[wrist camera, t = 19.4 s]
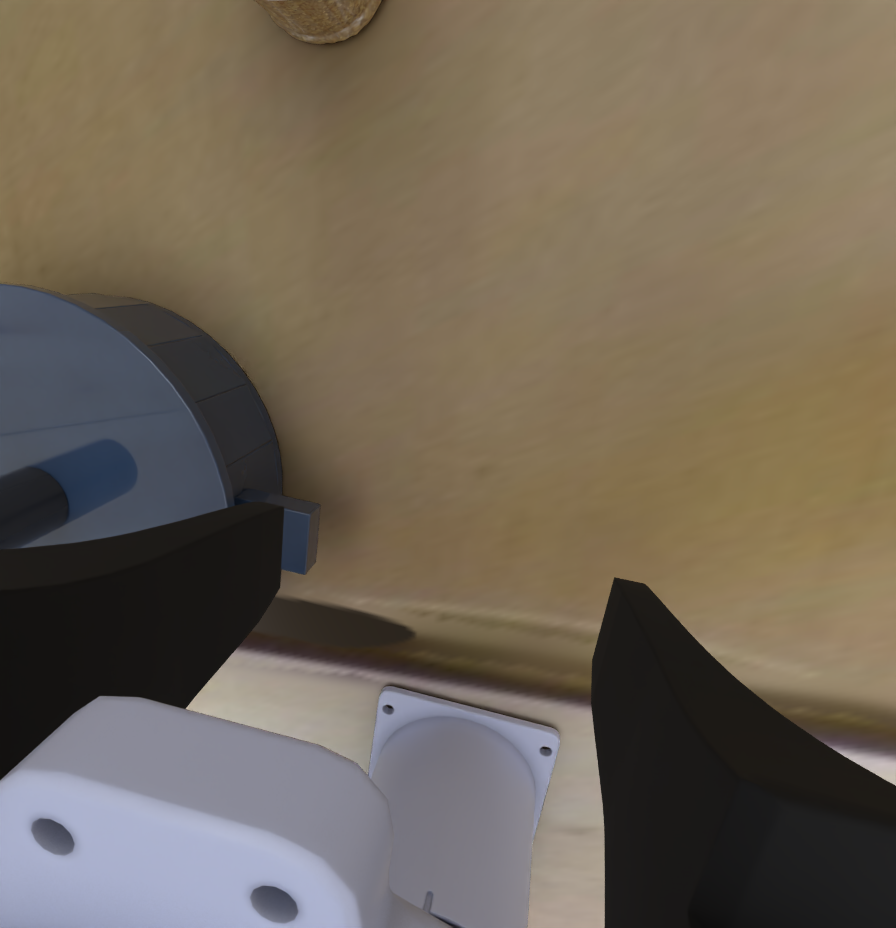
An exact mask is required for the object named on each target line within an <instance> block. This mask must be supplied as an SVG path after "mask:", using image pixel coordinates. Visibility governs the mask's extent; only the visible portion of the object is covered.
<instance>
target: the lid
mask: <svg viewBox="0 0 896 928" xmlns="http://www.w3.org/2000/svg"><path fill="white" fill-rule="evenodd" d="M232 506H235V503H234V496H233V490H232V485H231V482H230V478H229V475H228V471H227V468H226V464H225V461H224V458H223V456H222V453H221V451H220V449H219V446H218V444H217V441H216V439H215V437H214V434H213V432H212V430H211V428H210V427H209V425H208V423H207V421H206V419H205V418H204V416H203V414H202V412H201V410H200V409H199V407H198V405H197V404H196V402H195V401H194V400H193V398H192V397H191V395H190V394H189V393H188V391H187V390H186V388H185V387H184V385H183V384H182V383H181V381H180V380H179V379H178V378H177V377H176V375H175V374H174V373H173V372H172V371H171V370H170V369H169V368H168V366H167V365H166V364H165V363H164V362H163V361H162V360H161V358H160V357H159V356H157V355H156V354H155V353H154V352H153V351H152V350H151V349H150V348H149V347H148V346H147V345H145V344H144V343H143V342H142V341H141V340H140V339H139V338H138V337H137V336H135V335H134V334H133V333H131V332H130V331H128V330H127V329H126V328H124V327H123V326H122V325H120V324H119V323H117V322H116V321H115V320H113V319H112V318H110V317H108V316H107V315H105V314H103V313H101V312H99V311H98V310H96V309H94V308H92V307H91V306H89V305H87V304H85V303H83V302H80V301H78V300H75V299H73V298H71V297H68V296H66V295H63V294H61V293H58V292H55V291H51V290H47V289H43V288H39V287H36V286H32V285H23V284H14V283H0V549H17V548H27V547H37V546H47V545H57V544H67V543H75V542H82V541H89V540H95V539H101V538H107V537H112V536H118V535H123V534H127V533H132V532H136V531H141V530H145V529H149V528H153V527H157V526H161V525H165V524H169V523H173V522H177V521H181V520H185V519H188V518H192V517H195V516H199V515H203V514H206V513H210V512H213V511H217V510H221V509H224V508H228V507H232Z"/></svg>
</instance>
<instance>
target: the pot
mask: <svg viewBox="0 0 896 928" xmlns="http://www.w3.org/2000/svg"><path fill="white" fill-rule="evenodd" d="M66 296H68V297H71V298H73V299H75V300H78V301H80V302H83V303H85V304H87V305H89V306H91V307H92V308H94V309H96V310H98V311H99V312H101V313H103V314H105V315H107V316H108V317H110V318H112V319H113V320H115V321H116V322H117V323H119V324H120V325H122V326H123V327H124V328H126V329H127V330H128V331H130V332H131V333H133V334H134V335H135V336H137V337H138V338H139V339H140V340H141V341H142V342H143V343H144V344H145V345H147V346H148V347H149V348H150V349H151V350H152V351H153V352H154V353H155V354H156V355H157V356H159V357H160V358H161V360H162V361H163V362H164V363H165V364H166V365H167V366H168V368H169V369H170V370H171V371H172V372H173V373H174V374H175V375H176V377H177V378H178V379H179V380H180V381H181V383H182V384H183V385H184V387H185V388H186V390H187V391H188V393H189V394H190V395H191V397H192V398H193V400H194V401H195V402H196V404H197V405H198V407H199V409H200V410H201V412H202V414H203V416H204V418H205V419H206V421H207V423H208V425H209V427H210V428H211V430H212V432H213V434H214V437H215V439H216V441H217V444H218V446H219V449H220V451H221V453H222V456H223V458H224V461H225V464H226V468H227V471H228V475H229V478H230V482H231V485H232V490H233V496H234V503H235V506H236V505H240V504H244V503H249V502H256V501H260V502H265V503H269V504H274V505H279V506H283V507H284V523H283V542H282V561H281V569H282V570H286V571H290V572H294V573H299V574H303V575H305V574H306V573H307V572H308V571H309V570H310V569H311V567H312V566H313V565H314V564H315V563H316V554H317V542H318V531H319V519H320V508H321V504H318V503H313V502H309V501H304V500H300V499H295V498H291V497H286V496H282V466H281V458H280V451H279V447H278V443H277V439H276V435H275V431H274V428H273V426H272V423H271V421H270V418H269V416H268V413H267V410H266V408H265V406H264V404H263V402H262V401H261V399H260V397H259V395H258V393H257V391H256V389H255V388H254V386H253V385H252V383H251V382H250V380H249V379H248V377H247V376H246V375H245V373H244V372H243V370H242V369H241V368H240V367H239V365H238V364H237V363H236V362H235V361H234V360H233V358H232V357H231V356H230V355H229V354H228V353H227V352H226V351H225V350H224V349H223V348H222V347H221V346H220V345H219V344H218V343H217V342H216V341H215V340H214V339H212V338H211V337H210V336H209V335H208V334H206V333H205V332H204V331H202V330H201V329H200V328H198V327H197V326H195V325H194V324H193V323H191V322H190V321H188V320H186V319H184V318H183V317H181V316H179V315H177V314H175V313H174V312H172V311H170V310H167V309H165V308H162V307H160V306H157V305H155V304H153V303H150V302H146V301H142V300H138V299H134V298H130V297H122V296H113V295H102V294H97V293H88V294H71V295H66Z"/></svg>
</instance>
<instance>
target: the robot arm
mask: <svg viewBox="0 0 896 928" xmlns="http://www.w3.org/2000/svg"><path fill="white" fill-rule="evenodd" d="M283 523H284V507H283V506H279V505H274V504H269V503H265V502H260V501H256V502H249V503H244V504H240V505H236V506H232V507H228V508H224V509H221V510H217V511H213V512H210V513H206V514H203V515H199V516H195V517H192V518H188V519H185V520H181V521H177V522H173V523H169V524H165V525H161V526H157V527H153V528H149V529H145V530H141V531H136V532H132V533H127V534H123V535H118V536H112V537H107V538H101V539H95V540H89V541H82V542H75V543H67V544H57V545H47V546H37V547H27V548H17V549H0V928H527V927H528V910H529V893H530V877H531V860H532V843H533V840H534V836H535V832H536V829H537V825H538V822H539V818H540V814H541V811H542V807H543V804H544V800H545V796H546V793H547V789H548V785H549V782H550V778H551V775H552V771H553V767H554V764H555V760H556V757H557V753H558V749H559V746H560V735H559V733H558V731H557V730H555V729H554V728H551V727H548V726H544V725H540V724H536V723H532V722H529V721H525V720H521V719H517V718H513V717H509V716H505V715H502V714H498V713H494V712H490V711H486V710H482V709H478V708H475V707H471V706H467V705H463V704H459V703H455V702H451V701H448V700H444V699H440V698H436V697H432V696H428V695H424V694H421V693H417V692H413V691H409V690H405V689H401V688H397V687H394V686H387V687H385V688H383V689H382V691H381V694H380V696H379V701H378V708H377V715H376V722H375V729H374V737H373V744H372V751H371V758H370V765H369V772H368V775H367V774H366V773H365V772H364V771H363V769H362V768H361V767H360V766H359V765H358V764H357V763H355V762H353V761H351V760H349V759H347V758H345V757H343V756H341V755H339V754H337V753H335V752H333V751H331V750H329V749H327V748H325V747H323V746H321V745H318V744H314V743H310V742H307V741H303V740H299V739H295V738H292V737H288V736H284V735H280V734H277V733H273V732H269V731H265V730H262V729H258V728H254V727H250V726H247V725H243V724H239V723H235V722H231V721H228V720H224V719H220V718H216V717H213V716H209V715H205V714H201V713H198V712H194V711H190V710H186V707H187V706H188V705H189V704H190V702H191V701H192V700H193V699H194V697H195V696H196V695H197V694H198V693H199V691H200V690H201V689H202V688H203V687H204V686H205V684H206V683H207V682H208V681H209V680H210V679H211V678H212V676H213V675H214V674H215V673H216V672H217V671H218V669H219V668H220V667H221V666H222V665H223V664H224V662H225V661H226V660H227V659H228V658H229V657H230V655H231V654H232V653H233V652H234V651H235V650H236V648H237V647H238V646H239V645H240V644H241V643H242V641H243V640H244V639H245V638H246V637H247V635H248V634H249V633H250V632H251V631H252V629H253V628H254V627H255V626H256V625H257V623H258V622H259V621H260V619H261V618H262V616H263V614H264V613H265V611H266V610H267V608H268V606H269V605H270V603H271V602H272V600H273V598H274V597H275V595H276V593H277V592H278V590H279V588H280V581H281V561H282V542H283ZM386 705H390V706H392V707H393V709H392V708H388V707H387V706H386ZM591 705H592V715H593V724H594V733H595V742H596V750H597V759H598V767H599V776H600V784H601V793H602V802H603V814H604V834H605V928H896V786H895V785H893V784H892V783H890V782H888V781H886V780H884V779H882V778H881V777H879V776H877V775H875V774H874V773H872V772H870V771H869V770H867V769H865V768H863V767H862V766H860V765H858V764H856V763H855V762H853V761H851V760H850V759H848V758H846V757H844V756H843V755H841V754H840V753H838V752H836V751H835V750H833V749H832V748H830V747H828V746H827V745H825V744H824V743H822V742H821V741H819V740H817V739H816V738H815V737H813V736H812V735H810V734H809V733H807V732H806V731H804V730H803V729H801V728H800V727H798V726H797V725H796V724H794V723H793V722H791V721H790V720H788V719H787V718H785V717H784V716H783V715H781V714H780V713H779V712H777V711H776V710H775V709H773V708H772V707H771V706H769V705H768V704H767V703H766V702H764V701H763V700H762V699H761V698H759V697H758V696H757V695H756V694H754V693H753V692H752V691H751V690H749V689H748V688H747V687H746V686H745V685H743V684H742V683H741V682H740V681H739V680H737V679H736V678H735V677H734V676H733V675H732V674H731V673H730V672H728V671H727V670H726V669H725V668H724V667H723V666H722V665H721V664H720V663H719V662H718V661H717V660H716V659H715V658H714V657H713V656H712V655H711V654H710V653H708V652H707V651H706V650H705V648H704V647H703V646H702V645H701V644H700V643H699V642H698V641H697V640H696V639H695V638H694V637H693V636H692V635H691V634H690V633H689V632H688V631H687V630H686V629H685V627H684V626H683V625H682V624H681V623H680V622H679V621H678V620H677V619H676V618H675V616H674V615H673V614H672V613H671V612H670V611H669V610H668V608H667V607H666V606H665V605H664V604H663V603H662V602H661V601H660V599H659V598H658V597H657V596H656V595H655V594H654V593H653V592H652V591H651V589H650V588H649V587H648V586H646V585H645V584H643V583H638V582H634V581H629V580H624V579H620V578H615V577H614V581H613V584H612V588H611V592H610V596H609V599H608V603H607V607H606V611H605V614H604V618H603V622H602V625H601V629H600V633H599V637H598V640H597V644H596V648H595V652H594V655H593V659H592V685H591ZM543 746H545V747H549V748H550V749H543V748H541V747H543Z"/></svg>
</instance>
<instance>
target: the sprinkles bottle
mask: <svg viewBox="0 0 896 928" xmlns="http://www.w3.org/2000/svg"><path fill="white" fill-rule="evenodd" d="M255 1H256V2H257V3H258V4H259V5H261V6H262V7H263V8H264V9H265V10H266V11H267V12H268V13H269V14H270V16H271V18H272V20H273V21H274V22H275V23H276V24H277V25H278V26H279V27H281V28H283V29H284V30H285V31H286V32H287V33H288V34H290V35H291V36H293V37H294V38H296V39H298V40H301V41H304V42H308V43H313V44H325V43H327V42H328V43H335V42H337V41H343V40H346V39H347V38H349V37H351V36H354V35H357V33H358V32H359V31H360V30H361V29H362V28H363V27H364V26H365V25H366V24H367V23H369V22H370V20H371V18H372V17H373V15H374V14H375V12H376V10H377V8H378V7H379V5H380V3H381V1H382V0H255Z"/></svg>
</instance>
